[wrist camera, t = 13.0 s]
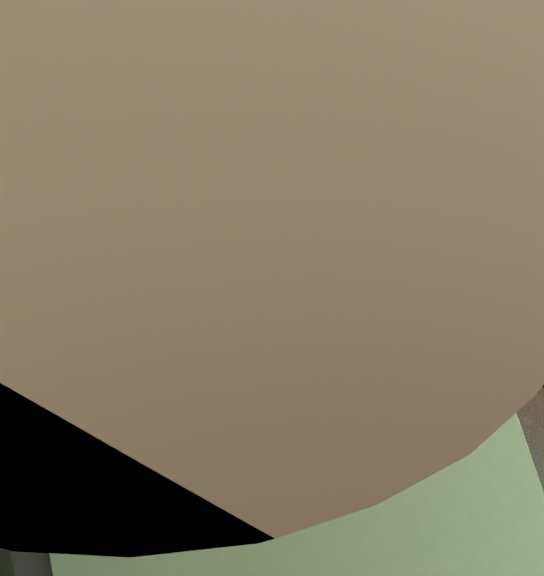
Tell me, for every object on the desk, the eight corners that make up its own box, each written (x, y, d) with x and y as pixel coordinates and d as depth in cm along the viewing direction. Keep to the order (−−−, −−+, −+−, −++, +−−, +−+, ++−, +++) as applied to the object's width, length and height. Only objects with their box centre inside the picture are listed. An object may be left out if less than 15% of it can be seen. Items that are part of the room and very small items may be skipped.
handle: (252, 218, 18) (430, -508, 4) (286, 399, 17) (763, 422, 2) (115, 238, 17) (-381, -585, 3) (140, 427, 16) (-483, 726, 2)
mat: (588, 640, 17) (597, 646, 16) (104, 838, 14) (101, 851, 14) (406, 108, 20) (410, 103, 20) (-13, 187, 18) (-18, 182, 17)
